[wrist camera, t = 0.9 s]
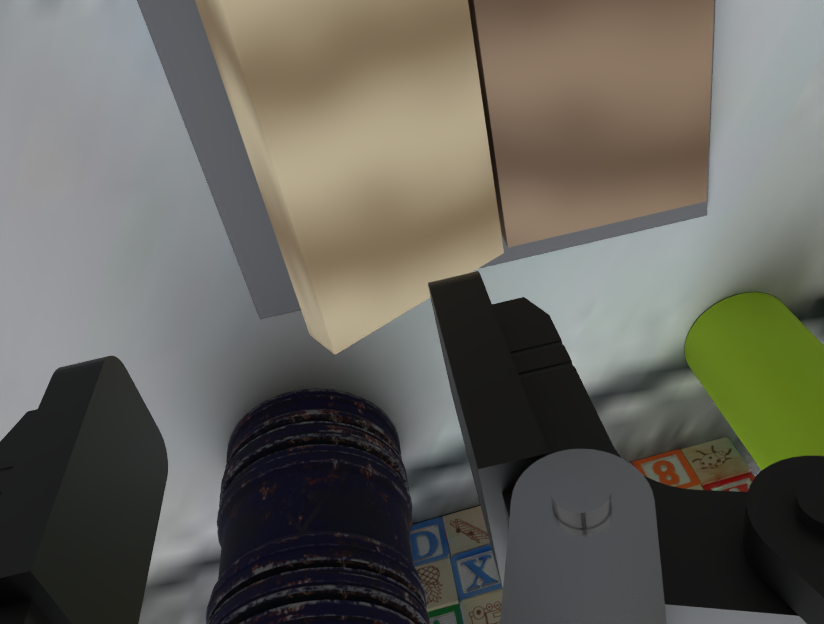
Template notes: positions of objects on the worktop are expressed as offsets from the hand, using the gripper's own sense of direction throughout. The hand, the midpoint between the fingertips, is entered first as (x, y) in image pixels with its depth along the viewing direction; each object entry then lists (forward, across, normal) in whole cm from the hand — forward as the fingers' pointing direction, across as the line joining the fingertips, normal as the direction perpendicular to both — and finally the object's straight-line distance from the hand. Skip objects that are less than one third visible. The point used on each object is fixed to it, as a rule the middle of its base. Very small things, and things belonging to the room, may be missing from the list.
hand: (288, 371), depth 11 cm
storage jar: (+23, +6, +23) cm, 33 cm away
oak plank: (+19, -1, 0) cm, 19 cm away
